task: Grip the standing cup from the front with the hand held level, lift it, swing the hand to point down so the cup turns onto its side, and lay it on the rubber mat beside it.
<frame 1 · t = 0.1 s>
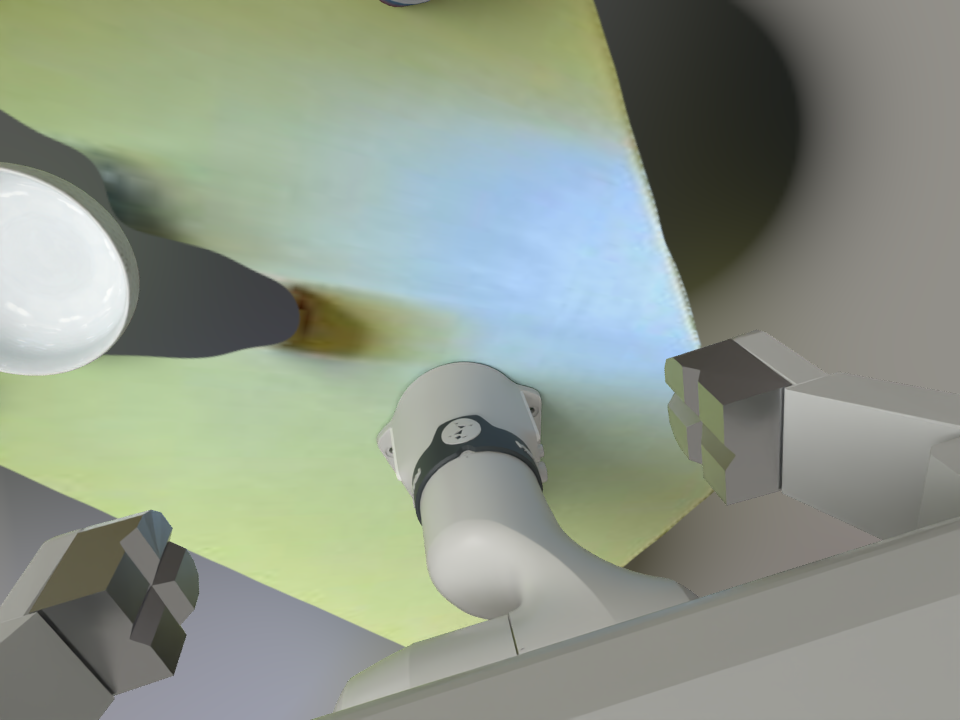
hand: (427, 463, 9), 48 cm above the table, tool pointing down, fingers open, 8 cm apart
cereal bowl: (53, 252, 52), on the table
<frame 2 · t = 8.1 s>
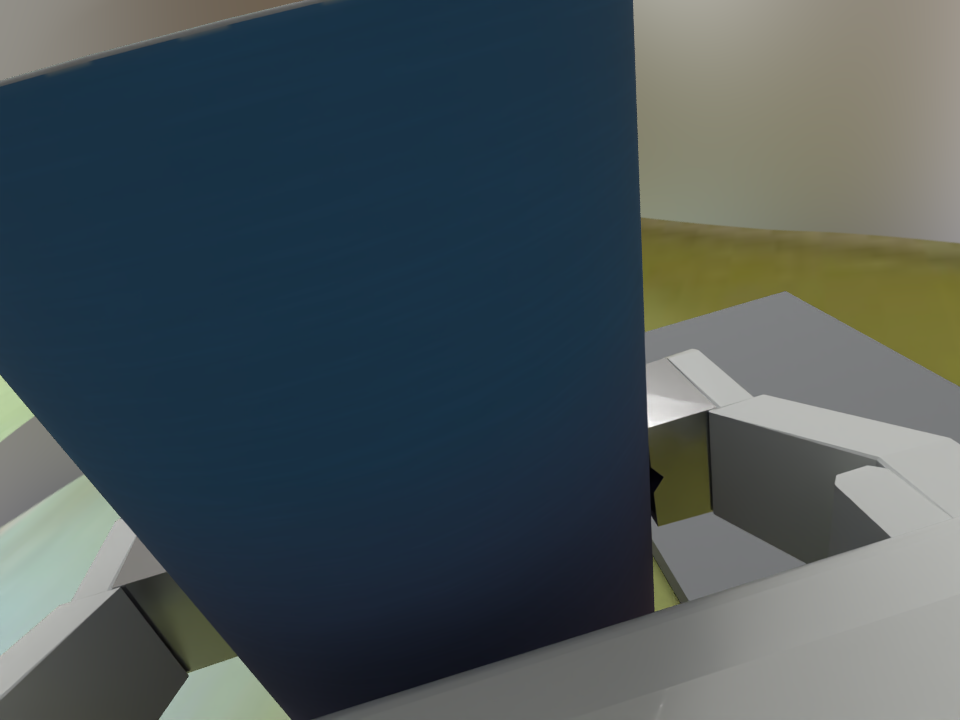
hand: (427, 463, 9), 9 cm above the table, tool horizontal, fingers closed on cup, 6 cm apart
mat: (804, 466, 19), on the table
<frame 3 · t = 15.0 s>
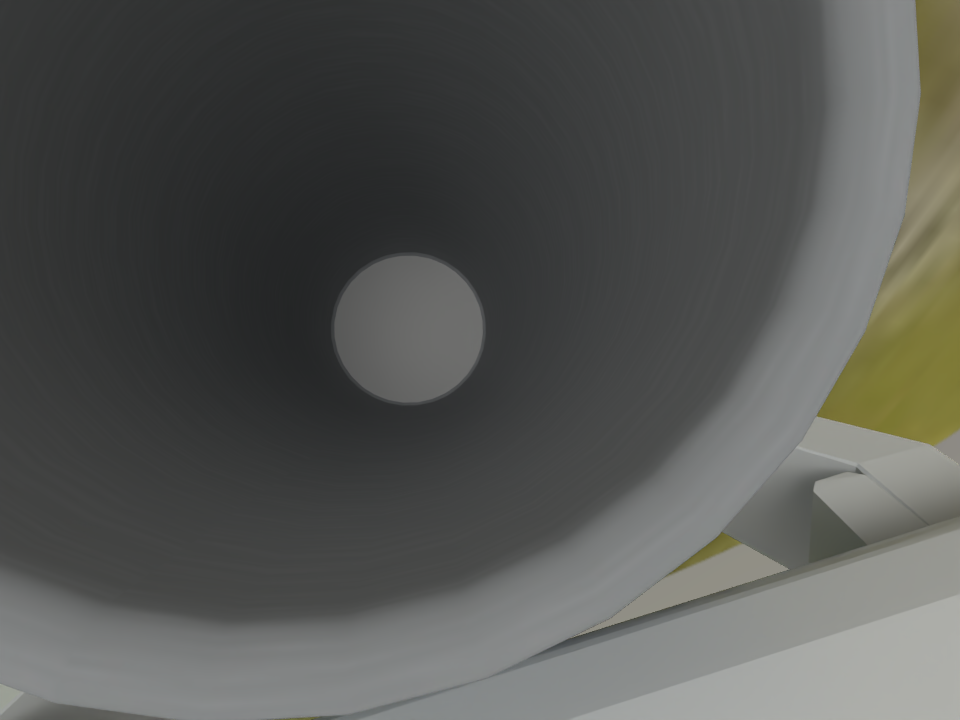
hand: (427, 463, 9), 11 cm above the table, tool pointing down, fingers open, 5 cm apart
cup: (410, 330, 18), point 2 cm above the table, touching mat
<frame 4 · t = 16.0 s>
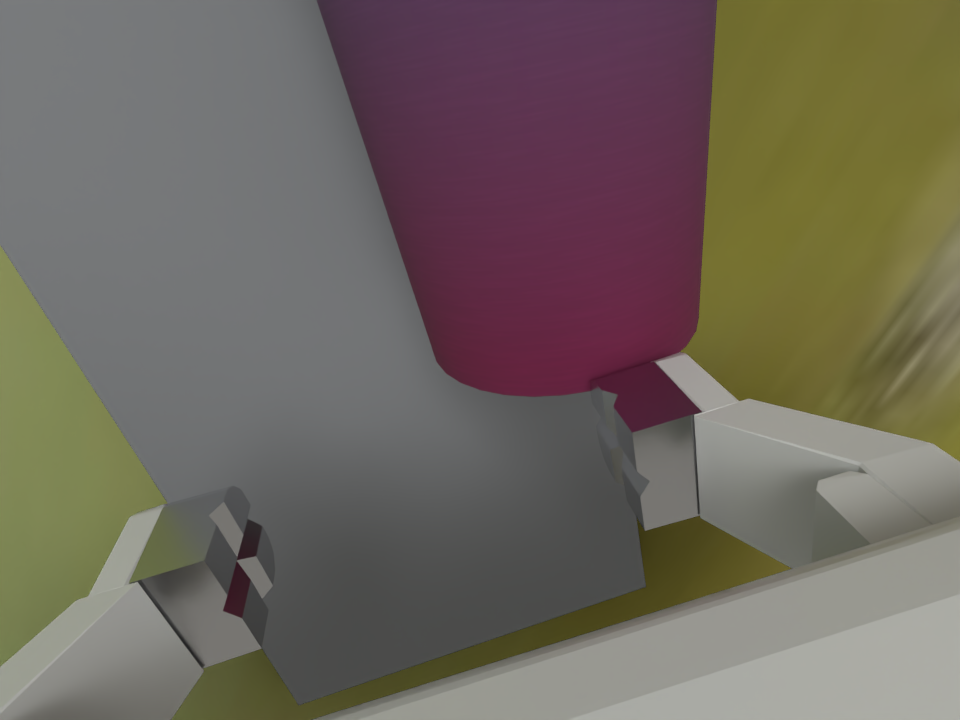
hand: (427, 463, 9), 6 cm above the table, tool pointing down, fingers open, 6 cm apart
cup: (561, 335, 11), point 4 cm above the table, touching gripper, mat
mat: (382, 380, 15), on the table
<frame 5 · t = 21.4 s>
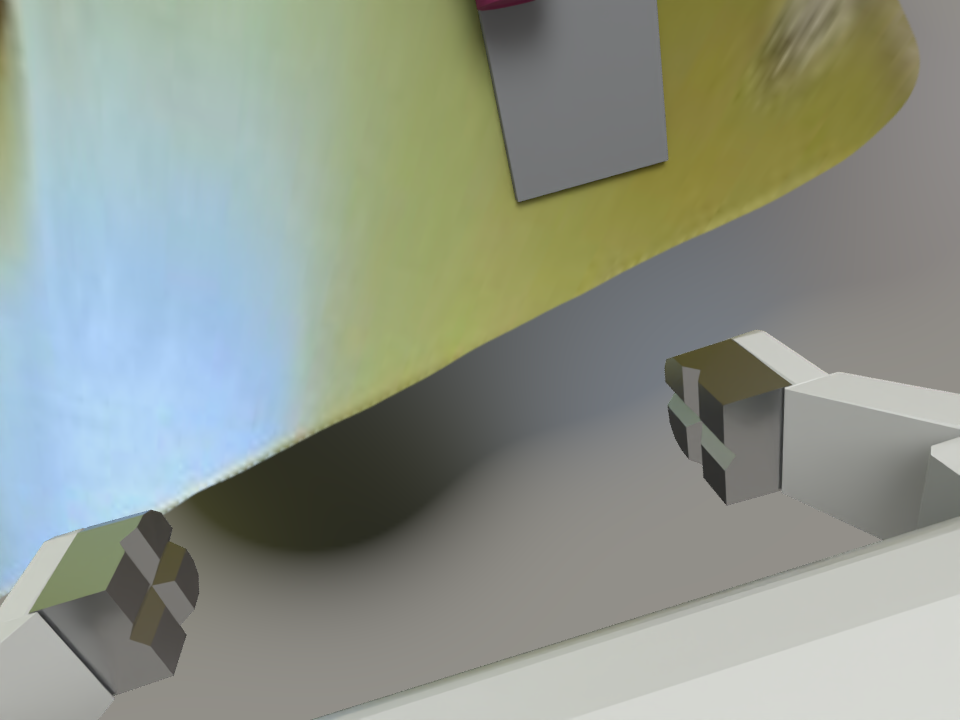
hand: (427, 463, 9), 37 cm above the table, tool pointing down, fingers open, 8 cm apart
cup: (518, 4, 36), point 4 cm above the table, touching mat
mat: (570, 35, 41), on the table
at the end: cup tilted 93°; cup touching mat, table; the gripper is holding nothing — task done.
